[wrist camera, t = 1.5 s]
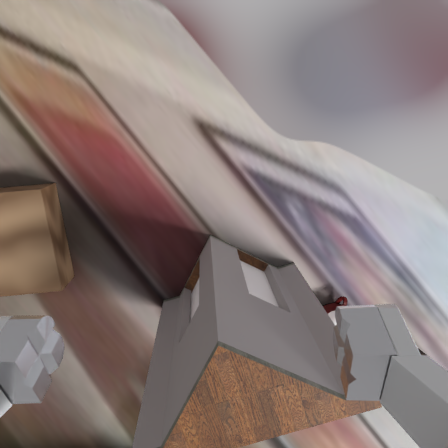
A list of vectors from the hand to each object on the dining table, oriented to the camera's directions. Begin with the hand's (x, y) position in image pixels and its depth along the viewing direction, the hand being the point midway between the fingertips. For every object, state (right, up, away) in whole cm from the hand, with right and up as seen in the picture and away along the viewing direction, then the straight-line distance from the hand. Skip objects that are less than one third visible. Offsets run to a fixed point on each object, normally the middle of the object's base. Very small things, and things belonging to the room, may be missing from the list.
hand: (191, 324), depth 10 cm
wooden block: (-29, +1, +42) cm, 51 cm away
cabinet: (+1, -3, +45) cm, 45 cm away
